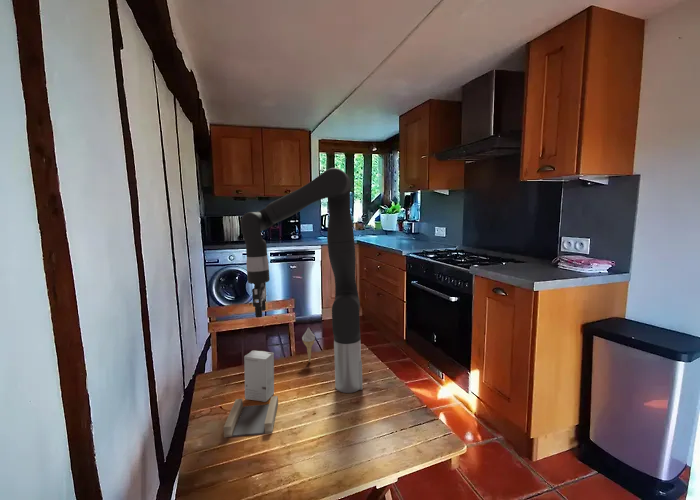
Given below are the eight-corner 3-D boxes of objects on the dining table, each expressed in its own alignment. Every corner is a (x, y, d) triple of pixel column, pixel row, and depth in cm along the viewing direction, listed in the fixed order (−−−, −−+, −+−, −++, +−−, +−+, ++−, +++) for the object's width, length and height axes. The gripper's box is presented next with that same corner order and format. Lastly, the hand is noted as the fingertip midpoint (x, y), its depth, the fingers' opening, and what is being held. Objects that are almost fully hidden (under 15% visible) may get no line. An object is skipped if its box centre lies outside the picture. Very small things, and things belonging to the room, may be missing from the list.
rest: (278, 404, 106) (277, 395, 105) (272, 433, 92) (271, 423, 92) (236, 408, 105) (235, 399, 104) (224, 437, 91) (223, 427, 90)
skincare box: (244, 399, 109) (241, 356, 108) (254, 390, 115) (251, 349, 114) (267, 402, 107) (265, 358, 106) (276, 392, 113) (274, 351, 111)
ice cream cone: (317, 359, 139) (316, 324, 137) (314, 365, 133) (313, 329, 132) (304, 358, 139) (303, 324, 138) (301, 364, 134) (299, 329, 132)
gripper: (265, 271, 110) (269, 319, 111) (271, 265, 124) (274, 307, 125) (242, 272, 109) (246, 320, 111) (250, 266, 123) (253, 308, 125)
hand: (261, 313), depth 118 cm, fingers open, 8 cm apart
